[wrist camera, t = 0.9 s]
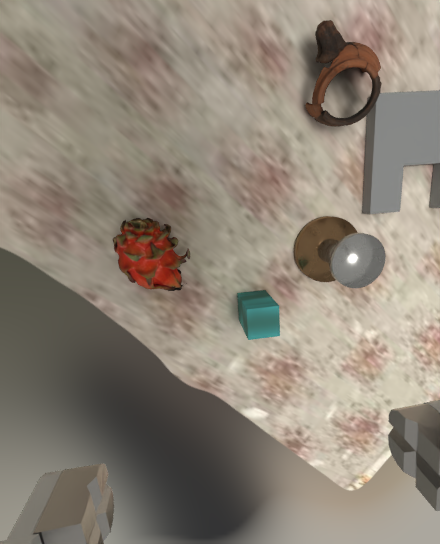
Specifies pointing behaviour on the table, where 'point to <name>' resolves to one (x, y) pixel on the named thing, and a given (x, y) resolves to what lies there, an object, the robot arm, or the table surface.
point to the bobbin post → (338, 253)
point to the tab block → (258, 314)
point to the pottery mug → (343, 58)
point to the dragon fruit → (149, 255)
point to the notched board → (400, 147)
